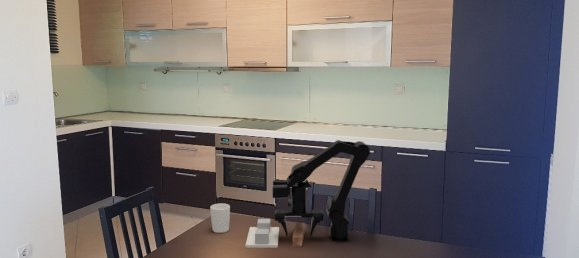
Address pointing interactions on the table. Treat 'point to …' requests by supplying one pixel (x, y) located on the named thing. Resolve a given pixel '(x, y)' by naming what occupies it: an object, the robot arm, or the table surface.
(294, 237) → the terracotta bar
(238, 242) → the table surface
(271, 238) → the display stand
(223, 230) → the white cup
